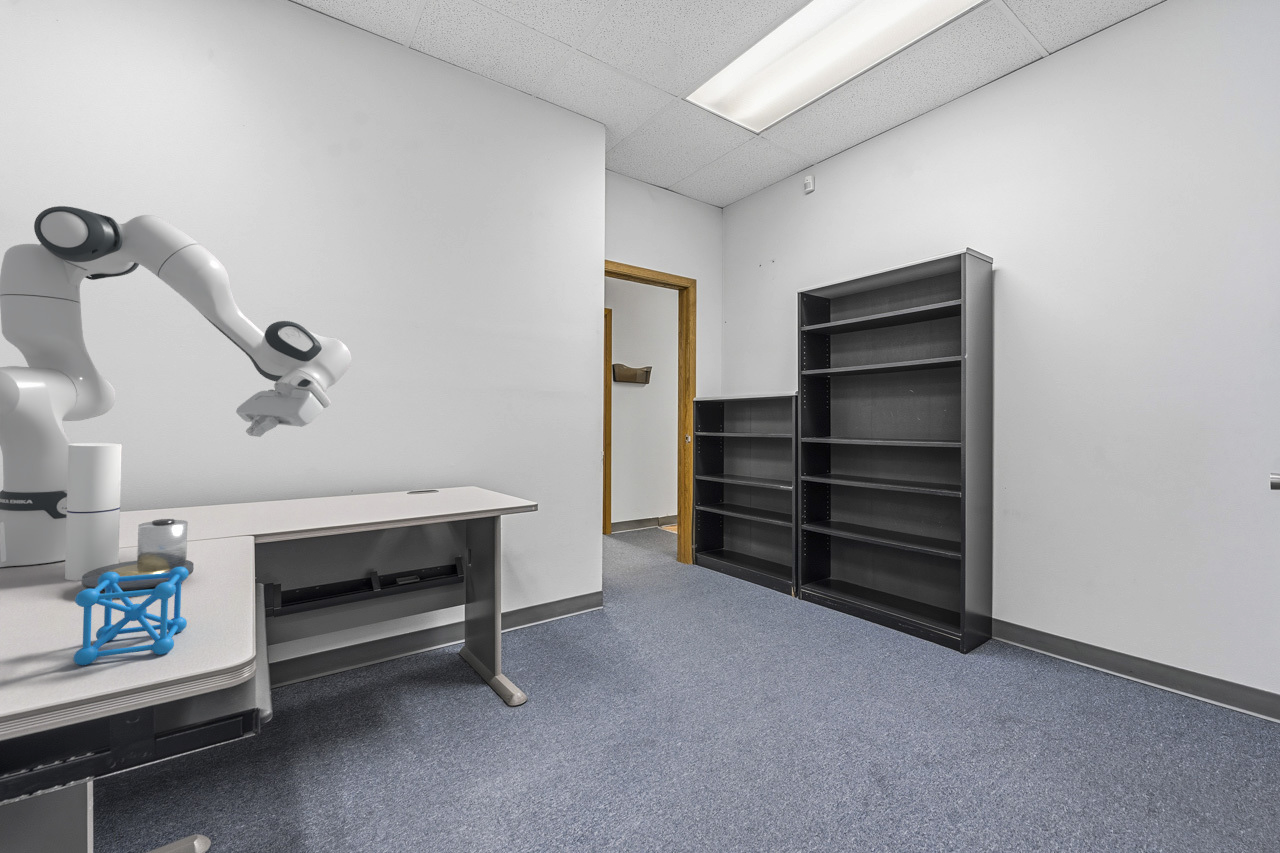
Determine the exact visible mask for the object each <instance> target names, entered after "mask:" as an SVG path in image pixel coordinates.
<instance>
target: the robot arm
mask: <svg viewBox="0 0 1280 853" xmlns="http://www.w3.org/2000/svg"><path fill="white" fill-rule="evenodd" d="M33 227H34V228H33V230H34V233H35V236H36V239H37V240H38V241H39V244H38V243H20V244H16V245H13V246H11V247H9V248H8V249H6V251H5V253H4V255H3V259H2V263H1V269H0V325H1V326H0V327H1V333H2V336H3V337H4V339H5V340H7V342H9V343H10V344H11V345H13V347H15V348H17V349H18V350H19V352H20V353H21V354H22V355H23V357H24V359H25V362H26V363H27V366H18V365H9V366H8V365H7V366H0V451H1V454H2V471H3V472H2V473H3V474H2V476H3V478H2V480H3V487H2V488H3V489H2V490H0V568H6V567H14V566H17V567H18V566H30V565H32V566H33V565H39V564H47V563H54V562H55V563H56V562H62V561H65V558H66V518H67V478H68V444H75V442H72V441H71V440H70V438H69V437H68V435H67V434H66V431H65V428H64V425H63V422H78V421H83V420H84V421H85V420H89V419H93V418H96V417H100V416H103V415H105V414H107V413H108V412H109V411H111V409H112V408H113V407H114V405H115V402H116V399H117V398H116V390H115V388H114V386H113V385H112V384H111V383H110V381H108V380H107V379H106V378H105V377H103V375H102V374H101V373H100V372H99V371H98V369H97V367H96V366H95V364H94V362H93V361H92V359H91V356H90V354H89V351H88V349H87V347H86V344H85V340H84V334H83V333H84V331H83V322H82V307H81V306H82V305H81V293H80V292H81V283H82V280H84V279H87V280H90V281H91V280H92V281H95V280H101V279H106V278H115V277H122V276H125V275H129V274H131V273H132V272H135V271H136V270H137V268H138V267H139V266H140V265H141V266H142V267H144V268H146V270H148V271H149V272H150V273H152V274H153V275H155V276H156V277H157V278H158V279H159V280H161V281H162V282H163V283H165V284H166V285H168V286H169V287H170V288H171V289H172V290H174V291H175V292H176V293H178V294H179V295H180V296H181V297H182V298H184V300H186V301H187V302H188V303H189V304H190V305H191V306H192V307H194V308H195V310H196V311H198V312H199V313H200V314H201V316H203V317H204V318H205V319H206V320H207V321H208V322H209V323H210V324H211V325H212V326H214V327H215V329H217V330H218V331H219V332H220V333H221V334H222V335H224V336H225V337H226V338H227V339H228V340H229V341H230V342H232V343H233V344H234V345H235V346H236V347H238V348H239V349H240V350H241V351H242V352H243V353H245V355H246V356H247V358H249V359H250V361H251V363H252V365H253V366H254V368H255V369H256V371H257V372H258V373H259V374H260V375H261V376H262V377H264V378H265V379H267V380H269V381H272V382H274V385H273V387H274V389H269V390H260V391H258V392H256V393H255V394H253V395H252V396H250V397H249V398H248V399H246V400H245V401H244V402H243V403H241V404H240V405H239V406H238V407H237V408H236V411H235V413H236V414H237V415H238V416H239V417H240V418H241V419H242V420H243V421H245V422H246V423H247V422H248V423H251V424H250V426H249V427H247V429H245V433H246V434H247V435H248V436H251V437H256V438H257V437H259V438H260V437H262V436H263V435H264V434H265V433H267V432H269V431H271V430H273V429H274V428H276V427H277V426H279V425H280V426H288V427H289V426H291V427H306V426H308V425H309V424H310V423H312V422H313V420H315V419H316V418H317V417H318V416H319V415H320V414H321V412H323V410H324V409H326V408H328V407H329V406H330V405H331V404H332V401H331V400H330V398H329V397H328V395H327V394H326V391H327V389H329V388H330V387H332V386H333V385H335V384H336V383H337V382H338V381H339V380H340V379H341V378H342V377H343V376H344V375H345V374H346V372H347V370H348V369H349V368H350V366H351V364H352V355H351V354H352V353H351V352H350V350H349V348H348V347H347V346H346V344H344V342H342V341H341V340H340V339H338V338H335V337H328V336H322V335H319V334H317V333H315V332H313V331H310V330H308V329H306V328H305V327H304V326H302V325H301V324H299V323H297V322H294V321H290V320H280V321H276V322H273V323H271V324H270V325H269V326H268V327H267V328H266V330H265V332H263V331H262V330H261V329H260V328H259V327H258V326H256V324H254V323H253V322H252V321H251V320H250V319H249V318H248V317H246V315H245V314H243V312H242V311H241V310H240V308H239V306H238V305H237V302H236V301H235V298H234V296H233V291H232V286H231V281H230V276H229V274H228V271H227V269H226V268H225V266H224V265H223V264H222V263H221V262H220V260H219V259H218V258H217V257H216V256H215V255H214V254H213V253H211V252H210V251H209V250H208V249H207V248H205V247H204V246H203V244H200V243H199V242H198V241H197V240H196V239H194V238H192V237H191V236H190V235H188V234H187V233H186V232H184V231H183V230H181V229H180V228H178V227H177V226H175V225H174V224H172V223H170V222H168V221H166V219H165V220H164V219H163V218H160V217H158V216H156V215H151V214H142V215H137V216H134V217H133V218H131V219H129V220H128V221H126V222H124V223H118V222H116V220H115V219H114V218H113V217H110V216H108V215H105V214H100V213H96V212H93V211H89V210H86V209H83V208H78V207H73V206H64V205H59V206H58V205H57V206H52V207H49V208H46V209H44V210H42V211H41V212H40V213H39V214H38V215H37V216H36V218H35V221H34V226H33Z"/></svg>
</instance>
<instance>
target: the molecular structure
mask: <svg viewBox="0 0 1280 853" xmlns="http://www.w3.org/2000/svg"><path fill="white" fill-rule="evenodd" d="M188 574H189V573H188V570H187V569H186V568H185V567H175V568H173V569H172V570H171V571H170V572H169V573H160V574H147V575H134V576H122V577H120V576H119V574H118V573H116V572H106V573H104V574H102V575H101V576H100V577H99V578H98V581H97V582H98V586H97V587H96V588H94V589H88V588H85V589H82V590H80V591H79V592H78V593H77V594H76V596H75V598H74V601H75V602H74V603H75V604H76V605H77V606H78V607H81V608H83V615H82V616H83V619H82V620H83V622H82V623H83V624H82V647H81V648H79V649H78V650H77V651H76V652H75V653H74V655H73V658H72V659H73V662H74V663H75V664H76V665H78V666H87V665H90V664H92V663H93V662H96V660H97V659H98V658H101V657H102V658H103V657H108V656H116V655H123V654H124V655H125V654H131V653H137V652H145V651H146V652H147V651H152V652H153V653H154V654H155V655H158V656H162V655H166V654H168V653H170V651H172V649H173V648H174V647H175V641H174V640H173V636H174V635H175V634H178V633H180V632H182V631H184V630H185V629H186V627H187V623H188V621H187V620H186V618H185V617H183V616H181V606H182V605H181V604H182V601H181V600H182V582H183V581H186V580H187V578H188V576H189V575H188ZM160 578H169V580H168V581H167V582H164V583H161V584H159V585H157V586H156V587H155V589H149V590H138V591H127V592H123V591H122V590H121V589H120V587H119V586H118V585H117V584H118V583H119V582H123V581H136V580H148V579H160ZM103 588H105V592H103V593H100V592H101V591H102V589H103ZM112 590H113V591H114V592H115V593H112ZM142 596H148V597H147V598H146V599H145V600H143V601H142V603H133V601H131V600H130V597H142ZM172 597H174V598H173V599H174V605H173V617H172V618H171V619H169V617H168V615H169V612H168V609H169V599H170V598H172ZM113 599H119V600H120V601H121V602H122V603H123V604H124V605H123V604H120V603H117V602H114V601H113ZM158 600H160V616H159V615H155V614H153V613H149V612H147V610H148V609H147V608H148V607H150V606H152V605H153V603H155V602H157V601H158ZM94 605H99V606H103V607H104V612H103V614H104V616H103V617H104V618H103V619H104V620H103V625H102V626H101V627H100V628H98V629H97V631H96V633H95V638H96V640H95V642H93V644H91V643H92V642H91V641H92V609H93V606H94ZM112 610H116V611H119V612H123V613H124V617H122V618H121V619H120V620H119V621H117V622H116V623H115V624H112V613H113V612H112ZM148 620H149V621H151V622H152V621H153V622H156V623H159V624H150V622H149V621H148ZM135 621H138V623H139V624H140V625H141V626H134V627H133V626H132V627H126V628H124V627H125V626H126V625H127V624H128V623H129V622H135ZM158 630H159V633H158V632H157V631H158ZM141 632H146V633H147V634H148V635H149V636H150V637H151V639H152V640H153V641H154V642H153V643H152V644H144V645H136V646H128V647H121V648H112V649H105V650H99V649H100V648H101V647H102V646H103V645H105V644H106V643H107V642H110V641H113V640H114V639H115V638H116V637H118V635H125V634H134V633H141Z"/></svg>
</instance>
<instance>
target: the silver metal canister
mask: <svg viewBox="0 0 1280 853" xmlns="http://www.w3.org/2000/svg"><path fill="white" fill-rule="evenodd" d="M188 523H189V522H188V521H187V520H182V519H181V520H180V519H174V518H161V519H155V520H152V521H149V522H147V521H146V522H143V523H140V524H138V526H137V553H136V554H137V556H136V561H137V569H138V570H141V571H159V570H167V569H173V568H175V567H181V566H183V565H185V564H186V560H187V552H188V550H187V549H188V548H187V547H188V527H189V526H188Z"/></svg>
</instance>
